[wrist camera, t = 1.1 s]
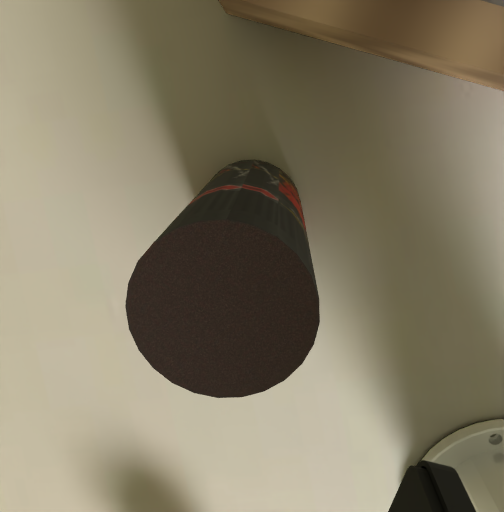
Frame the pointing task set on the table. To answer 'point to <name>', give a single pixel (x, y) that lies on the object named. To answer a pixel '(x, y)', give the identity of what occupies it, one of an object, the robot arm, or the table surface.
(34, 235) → the table surface
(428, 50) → the display stand
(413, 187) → the table surface
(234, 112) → the table surface
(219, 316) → the deodorant
